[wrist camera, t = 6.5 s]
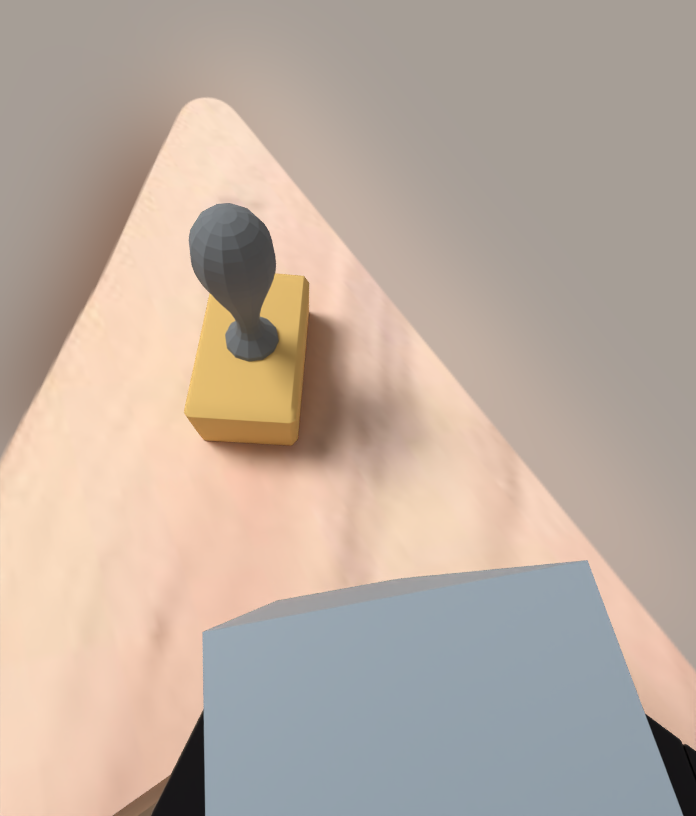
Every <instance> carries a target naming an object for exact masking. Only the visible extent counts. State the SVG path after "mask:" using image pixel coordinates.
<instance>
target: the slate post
mask: <svg viewBox="0 0 696 816" xmlns="http://www.w3.org/2000/svg"><path fill="white" fill-rule="evenodd" d="M203 695H204V762H205V816H683V814H682V811H681V808H680V806H679V803H678V800H677V798H676V795H675V792H674V790H673V787H672V784H671V782H670V779H669V776H668V774H667V771H666V768H665V766H664V763H663V760H662V758H661V755H660V752H659V750H658V747H657V745H656V742H655V739H654V737H653V734H652V731H651V729H650V726H649V723H648V721H647V718H646V715H645V713H644V710H643V707H642V705H641V702H640V699H639V697H638V694H637V691H636V689H635V686H634V683H633V681H632V678H631V675H630V673H629V670H628V667H627V665H626V662H625V659H624V657H623V654H622V651H621V649H620V646H619V643H618V641H617V638H616V635H615V633H614V630H613V627H612V625H611V622H610V619H609V617H608V614H607V611H606V609H605V606H604V603H603V601H602V598H601V595H600V593H599V590H598V587H597V585H596V582H595V579H594V577H593V574H592V571H591V569H590V566H589V563H588V561H587V560H586V561H575V562H565V563H555V564H545V565H534V566H524V567H514V568H504V569H493V570H483V571H473V572H462V573H452V574H442V575H432V576H421V577H411V578H401V579H394V580H389V581H383V582H378V583H372V584H367V585H361V586H355V587H350V588H344V589H339V590H333V591H328V592H322V593H317V594H311V595H305V596H300V597H294V598H289V599H283V600H278V601H275V602H273V603H270V604H268V605H265V606H263V607H261V608H258V609H256V610H254V611H251V612H249V613H246V614H244V615H242V616H239V617H237V618H235V619H232V620H230V621H227V622H225V623H223V624H220V625H218V626H216V627H213V628H211V629H209V630H206V631H204V632H203Z"/></svg>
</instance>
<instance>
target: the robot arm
mask: <svg viewBox="0 0 696 816" xmlns="http://www.w3.org/2000/svg"><path fill="white" fill-rule="evenodd" d="M645 715H646V714H645ZM646 718H647V721H648V723H649V726H650V729H651V731H652V734H653V737H654V739H655V742H656V745H657V747H658V750H659V752H660V755H661V758H662V760H663V763H664V766H665V768H666V771H667V774H668V776H669V779H670V782H671V784H672V787H673V790H674V792H675V795H676V798H677V800H678V803H679V806H680V808H681V811H682V814H683V816H696V751H695V750H694V749H692V748H691V747H690V746H688V745H686V744H682V742H681V740H680V739H679V738H677V737H676V736H675V735H673V734H672V733H670V732H669V731H668V730H666V729H665V728H664V727H662V726H661V725H660V724H658V723H657V722H656V721H654V720H653V719H652V718H650V717H649V716H648V715H646ZM150 816H205V762H204V709H203V711H202V713H201V715H200V717H199V719H198V721H197V723H196V725H195V727H194V729H193V731H192V733H191V735H190V737H189V739H188V741H187V743H186V745H185V747H184V749H183V751H182V753H181V755H180V757H179V759H178V761H177V763H176V765H175V767H174V769H173V771H172V773H171V775H170V777H169V779H168V781H167V783H166V785H165V787H164V789H163V791H162V793H161V795H160V797H159V799H158V801H157V803H156V805H155V807H154V809H153V811H152V813H151V815H150Z"/></svg>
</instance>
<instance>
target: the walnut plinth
mask: <svg viewBox="0 0 696 816" xmlns="http://www.w3.org/2000/svg"><path fill="white" fill-rule="evenodd" d="M169 777H170V776H168V777H167V778H166V779H164V780H163V781H161V782H160V783H158V784H157V785H156V786H154V787H153V788H151V789H150V790H149V791H147V792H146V793H144V794H143V795H141V796H140V797H139V798H137V799H136V800H134V801H133V802H131V803H130V804H129V805H127V806H126V807H124V808H123V809H122V810H120V811H119V812H117V813H116V814H114V815H113V816H150V815H151V813H152V811H153V809H154V807H155V805H156V803H157V801H158V799H159V797H160V795H161V793H162V791H163V789H164V787H165V785H166V783H167V781H168V779H169Z"/></svg>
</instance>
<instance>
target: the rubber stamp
mask: <svg viewBox="0 0 696 816" xmlns="http://www.w3.org/2000/svg"><path fill="white" fill-rule="evenodd" d="M189 246H190V256H191V263H192V267H193V270H194V273H195V275H196V276H197V278H198V280H199V281H200V282H201V284H202V285H203V286H204V287H205V289H206V290H207V291H208V292H209V293H210V294H209V298H208V303H207V308H206V312H205V317H204V321H203V326H202V331H201V335H200V340H199V344H198V349H197V354H196V358H195V363H194V368H193V372H192V377H191V381H190V386H189V391H188V395H187V400H186V404H185V409H184V413H185V415H186V417H187V418H188V419H189V421H190V422H191V424H192V425H193V426H194V428H195V429H196V431H197V432H198V433H199V435H200V436H201V437H202V438H203V439H204V440H206V441H223V442H240V443H257V444H274V445H291V446H292V445H293V444H294V443H295V442H296V441H297V440H298V432H299V421H300V409H301V398H302V386H303V375H304V363H305V352H306V340H307V329H308V317H309V282H308V281H307V279H306V278H305V277H304V276H298V275H287V274H276V273H275V270H276V259H275V253H274V248H273V243H272V239H271V236H270V233H269V231H268V229H267V227H266V226H265V224H264V223H263V222H262V221H261V220H260V219H258V218H257V217H256V216H255V215H254V214H253V213H252V212H251V211H250V210H248V209H247V208H244V207H241V206H238V205H234V204H231V203H225V204H216V205H214V206H212V207H210V208H208V209H206V210H205V211H203V212H201V214H200V215H199V217H198V218H197V220H196V221H195V223H194V225H193V226H192V228H191V230H190V234H189Z"/></svg>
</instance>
